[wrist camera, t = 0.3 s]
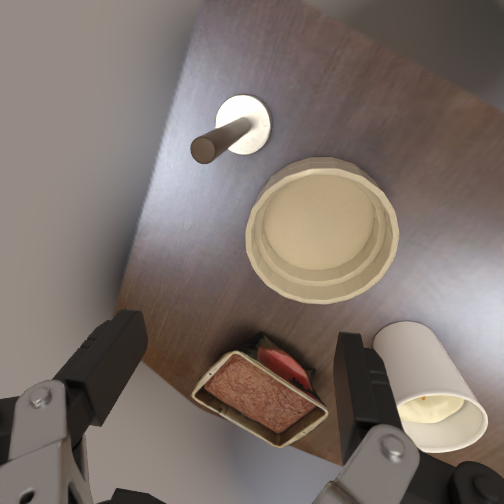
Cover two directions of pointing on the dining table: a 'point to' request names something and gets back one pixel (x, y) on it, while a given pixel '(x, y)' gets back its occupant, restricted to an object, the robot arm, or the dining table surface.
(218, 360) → the baking dish
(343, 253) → the bowl
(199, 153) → the rod with silver disc
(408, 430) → the white cup
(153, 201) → the dining table surface
